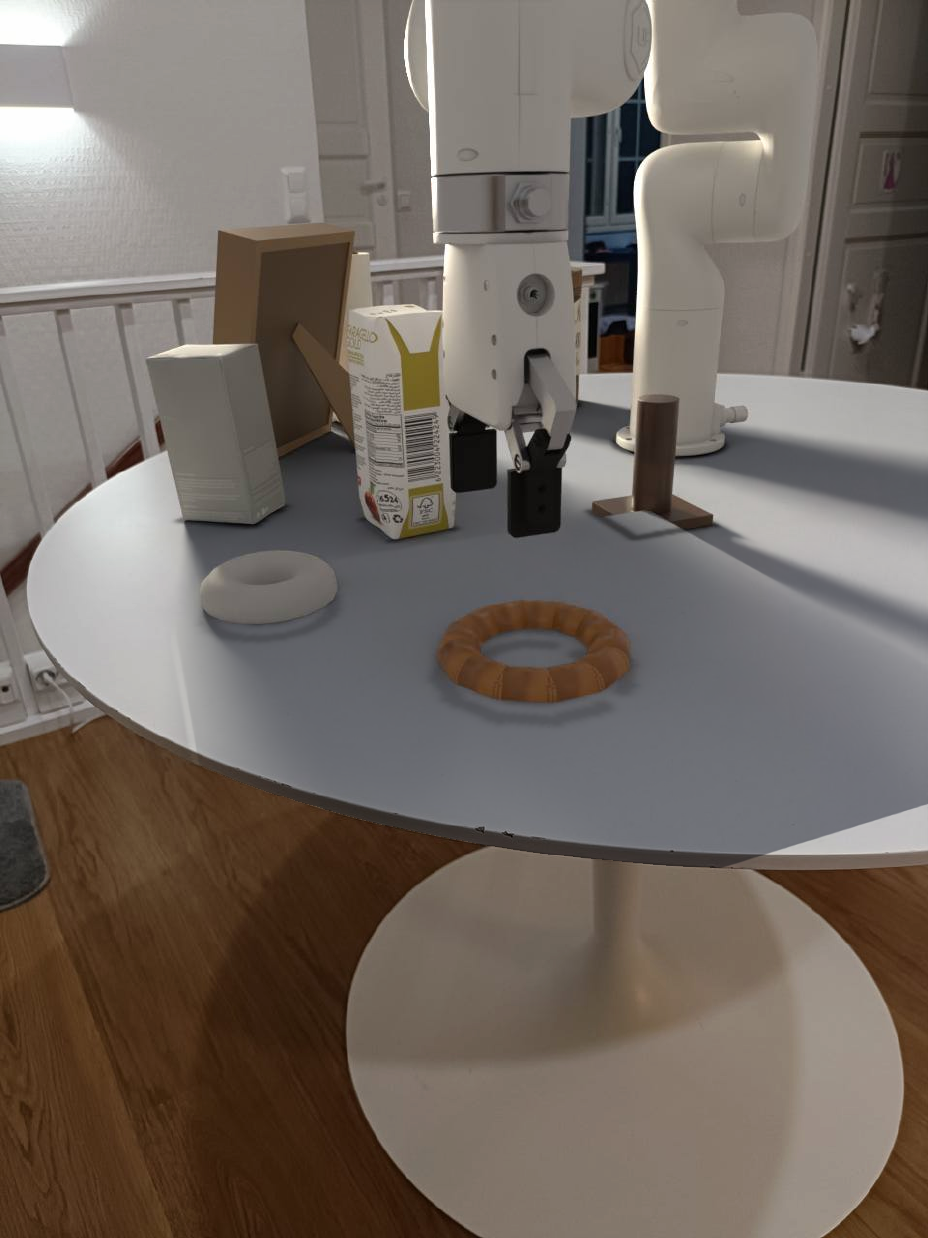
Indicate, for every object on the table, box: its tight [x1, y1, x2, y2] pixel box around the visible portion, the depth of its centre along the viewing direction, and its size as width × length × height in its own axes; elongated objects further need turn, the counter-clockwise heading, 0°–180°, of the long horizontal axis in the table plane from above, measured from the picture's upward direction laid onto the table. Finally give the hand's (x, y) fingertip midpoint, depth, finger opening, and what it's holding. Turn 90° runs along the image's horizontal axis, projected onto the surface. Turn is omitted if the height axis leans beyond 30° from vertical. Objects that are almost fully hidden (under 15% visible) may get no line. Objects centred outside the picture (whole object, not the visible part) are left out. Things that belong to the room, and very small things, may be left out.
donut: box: [199, 549, 339, 625], centre depth 65 cm, size 10×4×10 cm
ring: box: [436, 599, 631, 704], centre depth 56 cm, size 12×12×3 cm
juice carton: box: [347, 303, 457, 540], centre depth 78 cm, size 8×9×19 cm
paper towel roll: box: [333, 250, 374, 423], centre depth 116 cm, size 7×6×21 cm
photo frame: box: [212, 222, 356, 459], centre depth 100 cm, size 15×22×25 cm
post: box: [591, 394, 714, 530], centre depth 79 cm, size 8×8×11 cm
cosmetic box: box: [145, 344, 287, 525], centre depth 82 cm, size 8×7×16 cm
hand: (501, 510), depth 56 cm, fingers open, 9 cm apart
